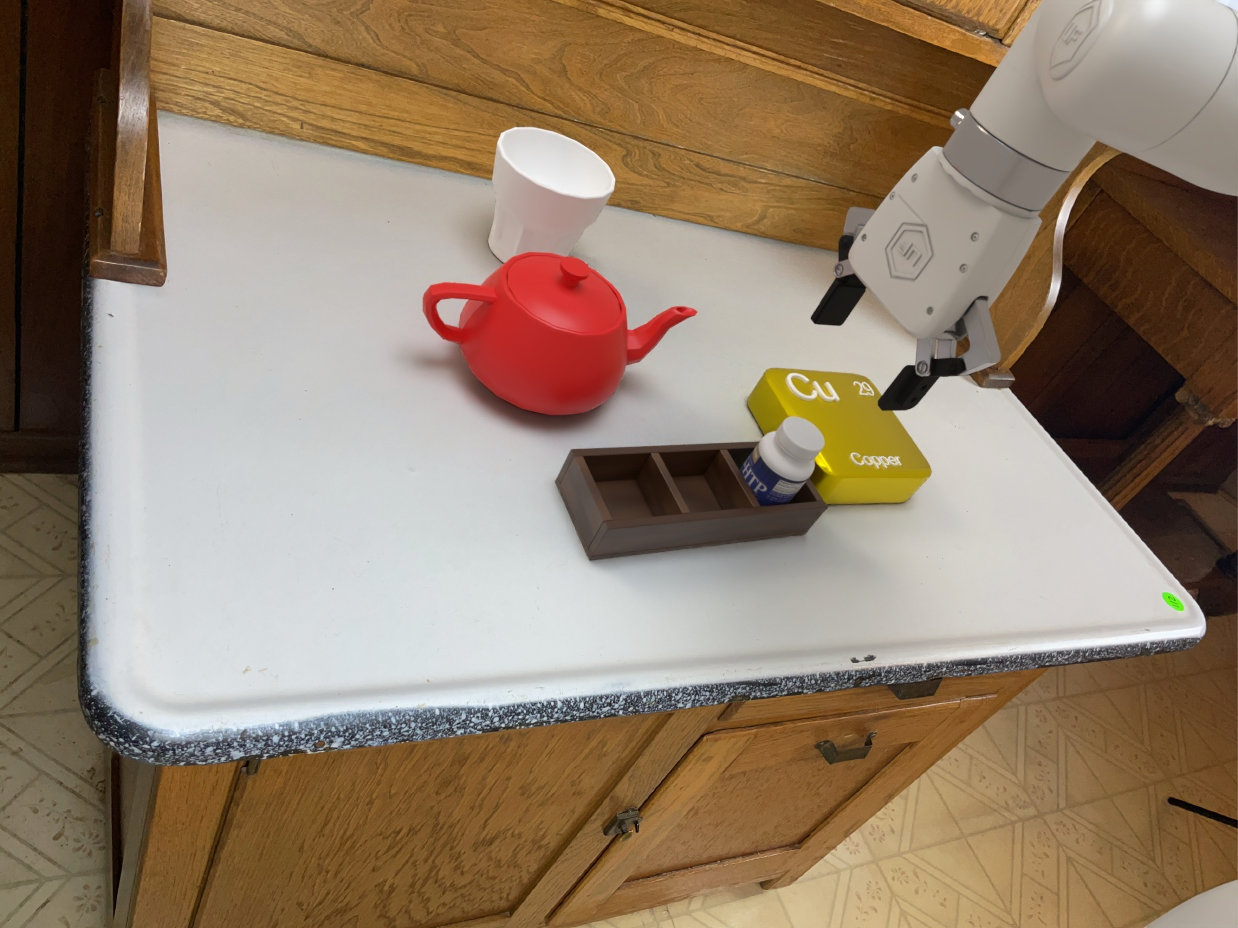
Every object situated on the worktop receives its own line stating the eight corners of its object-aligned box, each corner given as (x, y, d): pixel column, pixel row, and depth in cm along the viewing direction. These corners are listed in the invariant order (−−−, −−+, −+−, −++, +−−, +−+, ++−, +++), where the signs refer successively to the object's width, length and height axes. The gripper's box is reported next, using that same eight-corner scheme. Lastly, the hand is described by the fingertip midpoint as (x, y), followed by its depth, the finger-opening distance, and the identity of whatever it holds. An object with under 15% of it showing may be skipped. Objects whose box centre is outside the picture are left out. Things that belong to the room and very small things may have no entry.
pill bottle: (719, 476, 78) (766, 408, 72) (765, 476, 81) (814, 411, 75) (742, 523, 75) (793, 455, 69) (789, 521, 77) (842, 456, 72)
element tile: (802, 506, 81) (828, 473, 78) (739, 394, 89) (761, 360, 86) (915, 504, 88) (943, 473, 85) (847, 400, 97) (870, 369, 93)
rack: (805, 534, 78) (828, 507, 76) (589, 560, 66) (607, 529, 64) (764, 467, 83) (784, 439, 80) (554, 481, 71) (570, 448, 68)
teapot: (417, 424, 69) (452, 307, 61) (396, 302, 79) (424, 187, 71) (682, 442, 81) (741, 345, 73) (636, 333, 90) (684, 236, 82)
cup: (469, 205, 95) (496, 112, 87) (575, 235, 99) (609, 149, 92) (468, 270, 86) (498, 174, 79) (584, 300, 90) (622, 211, 83)
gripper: (887, 88, 58) (767, 290, 69) (1056, 239, 48) (885, 446, 59) (958, 108, 62) (834, 296, 73) (1128, 251, 52) (954, 443, 63)
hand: (857, 363), depth 66 cm, fingers open, 9 cm apart
